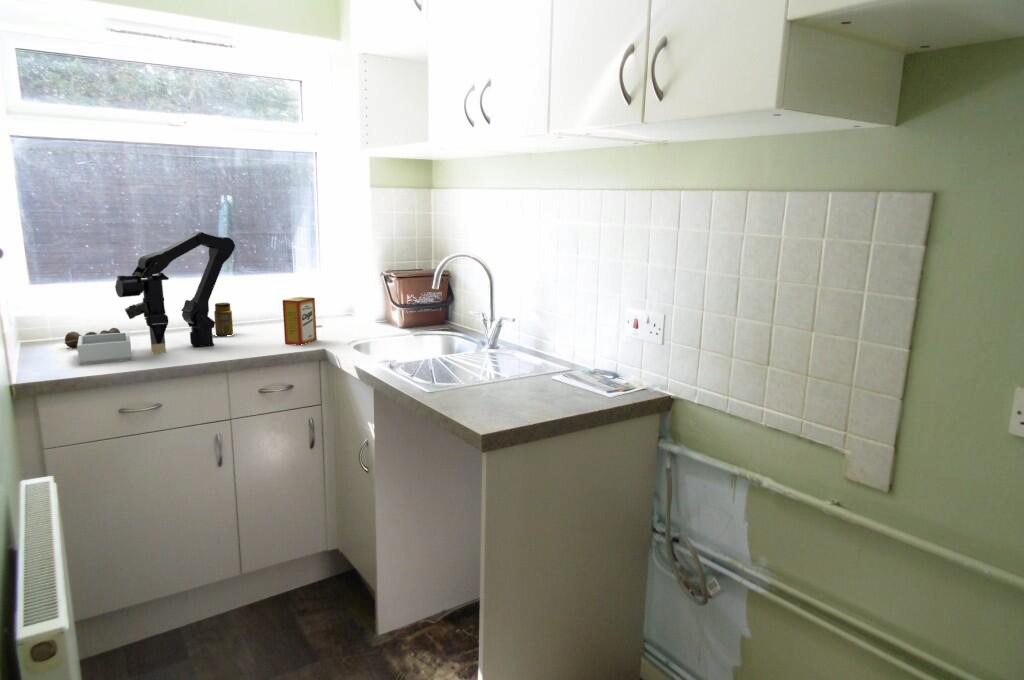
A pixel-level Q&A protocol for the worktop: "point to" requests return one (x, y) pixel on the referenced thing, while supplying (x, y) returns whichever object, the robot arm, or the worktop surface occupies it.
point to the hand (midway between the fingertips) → (157, 341)
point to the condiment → (223, 319)
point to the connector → (154, 346)
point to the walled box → (104, 348)
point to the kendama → (73, 337)
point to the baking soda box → (299, 320)
